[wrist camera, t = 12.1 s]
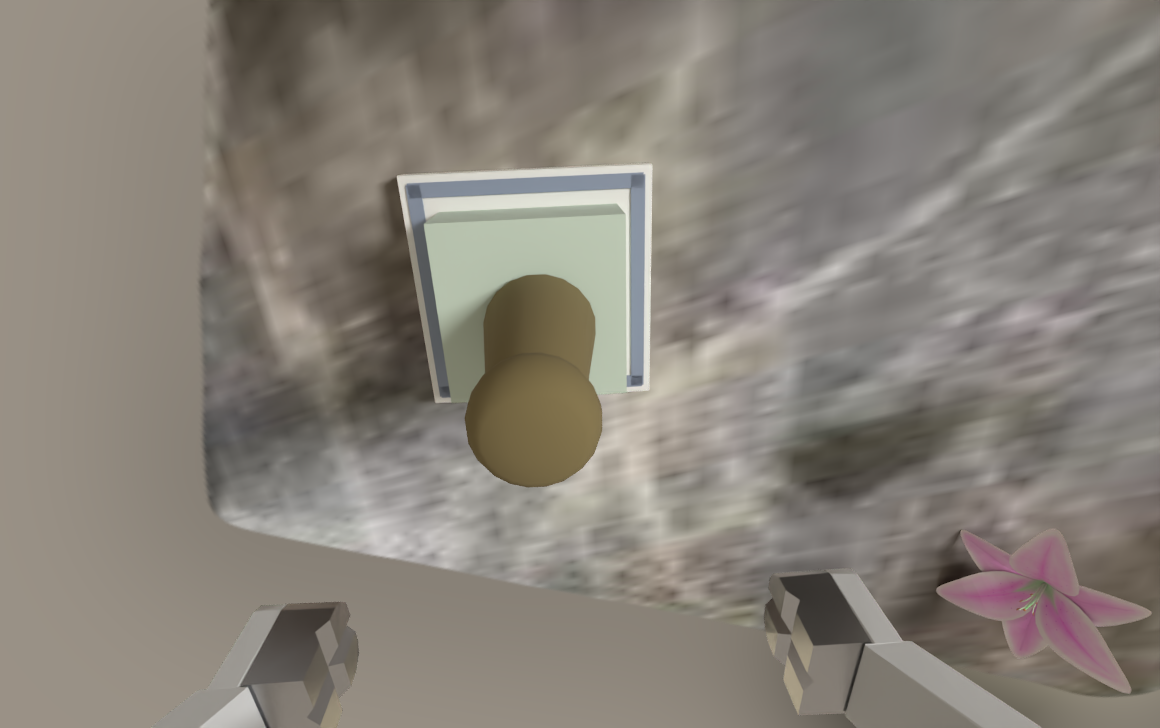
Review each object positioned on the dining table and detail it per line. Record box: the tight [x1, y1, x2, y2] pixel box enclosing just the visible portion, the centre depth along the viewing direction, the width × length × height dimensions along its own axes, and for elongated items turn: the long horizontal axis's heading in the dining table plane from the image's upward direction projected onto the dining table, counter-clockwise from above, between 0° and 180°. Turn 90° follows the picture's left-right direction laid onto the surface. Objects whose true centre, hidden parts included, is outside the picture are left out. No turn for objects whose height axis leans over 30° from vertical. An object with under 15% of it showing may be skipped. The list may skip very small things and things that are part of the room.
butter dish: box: [397, 163, 652, 403], centre depth 31 cm, size 14×14×5 cm
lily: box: [936, 529, 1152, 694], centre depth 41 cm, size 12×12×10 cm
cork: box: [465, 274, 602, 487], centre depth 24 cm, size 6×6×11 cm
